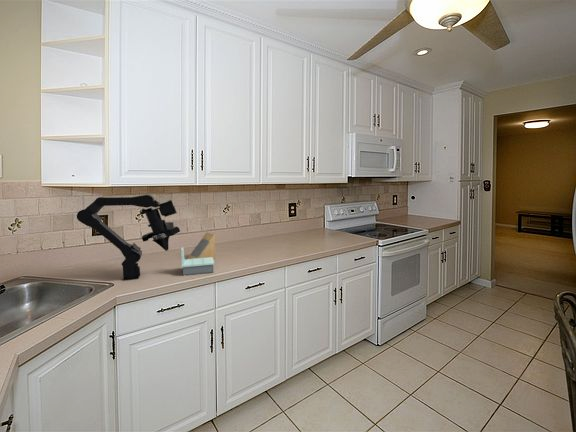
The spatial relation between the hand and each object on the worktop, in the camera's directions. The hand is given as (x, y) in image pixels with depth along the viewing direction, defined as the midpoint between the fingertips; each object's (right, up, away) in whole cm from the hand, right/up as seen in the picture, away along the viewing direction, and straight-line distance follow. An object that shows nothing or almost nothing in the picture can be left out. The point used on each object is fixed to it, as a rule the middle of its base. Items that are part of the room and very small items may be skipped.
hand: (167, 250), depth 142 cm
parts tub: (+13, -11, +6) cm, 18 cm away
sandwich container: (+9, -9, +24) cm, 27 cm away
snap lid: (+13, -7, +5) cm, 16 cm away
